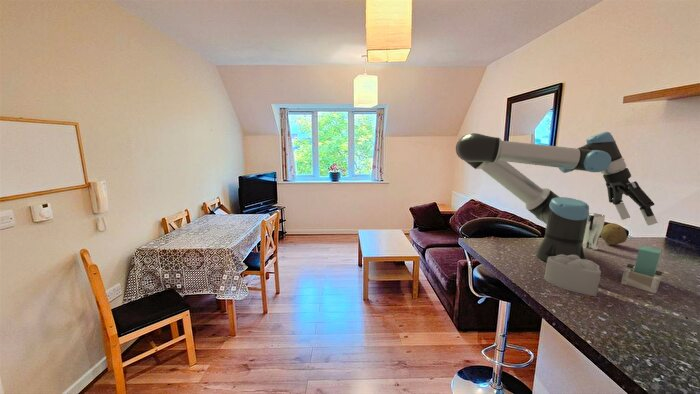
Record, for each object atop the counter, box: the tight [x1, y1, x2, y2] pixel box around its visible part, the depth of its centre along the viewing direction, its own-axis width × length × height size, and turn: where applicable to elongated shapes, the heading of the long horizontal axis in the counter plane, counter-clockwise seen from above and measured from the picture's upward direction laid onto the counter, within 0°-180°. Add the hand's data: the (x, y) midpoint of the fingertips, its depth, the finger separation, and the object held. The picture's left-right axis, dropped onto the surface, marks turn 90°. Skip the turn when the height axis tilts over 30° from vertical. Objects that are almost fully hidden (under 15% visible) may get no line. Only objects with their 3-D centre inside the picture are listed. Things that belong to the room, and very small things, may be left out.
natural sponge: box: [600, 222, 628, 246], centre depth 127 cm, size 9×9×10 cm
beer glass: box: [583, 212, 606, 251], centre depth 122 cm, size 7×7×15 cm
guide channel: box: [620, 263, 663, 294], centre depth 89 cm, size 16×10×6 cm, turn 128°
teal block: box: [633, 245, 662, 277], centre depth 91 cm, size 6×4×10 cm
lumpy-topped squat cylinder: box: [543, 254, 602, 296], centre depth 89 cm, size 10×13×9 cm
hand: (638, 221), depth 109 cm, fingers open, 13 cm apart
